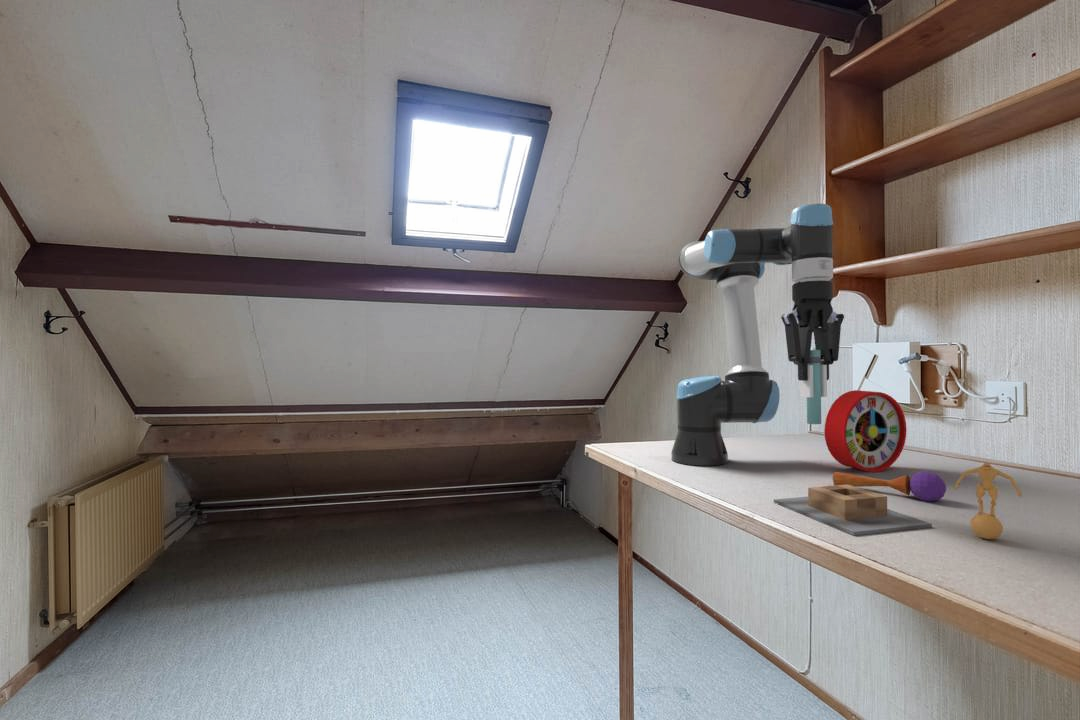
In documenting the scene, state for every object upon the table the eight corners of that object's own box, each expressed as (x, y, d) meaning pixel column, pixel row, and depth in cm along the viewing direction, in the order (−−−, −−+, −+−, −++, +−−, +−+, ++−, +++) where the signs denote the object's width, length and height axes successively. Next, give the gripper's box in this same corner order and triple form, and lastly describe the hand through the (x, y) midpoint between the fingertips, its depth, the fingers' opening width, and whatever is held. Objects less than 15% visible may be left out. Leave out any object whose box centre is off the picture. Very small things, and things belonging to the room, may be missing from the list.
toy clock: (843, 475, 129) (843, 393, 128) (824, 470, 134) (824, 391, 134) (906, 469, 134) (906, 390, 134) (885, 464, 140) (885, 389, 140)
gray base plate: (773, 502, 107) (773, 482, 106) (840, 496, 110) (840, 476, 110) (853, 535, 87) (853, 510, 87) (931, 527, 91) (931, 503, 91)
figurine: (952, 536, 86) (952, 462, 86) (956, 526, 91) (956, 457, 91) (1021, 548, 81) (1021, 469, 81) (1021, 537, 85) (1021, 463, 85)
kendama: (839, 466, 122) (947, 473, 107) (840, 492, 121) (949, 503, 106) (830, 465, 118) (941, 472, 103) (831, 492, 117) (943, 503, 102)
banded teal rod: (803, 422, 109) (802, 350, 109) (815, 422, 110) (814, 350, 110) (813, 424, 107) (812, 350, 107) (824, 423, 107) (823, 349, 107)
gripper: (791, 278, 103) (793, 399, 103) (859, 279, 106) (860, 396, 106) (767, 283, 110) (768, 396, 110) (830, 285, 114) (832, 394, 114)
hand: (813, 396), depth 108 cm, fingers closed on banded teal rod, 2 cm apart
